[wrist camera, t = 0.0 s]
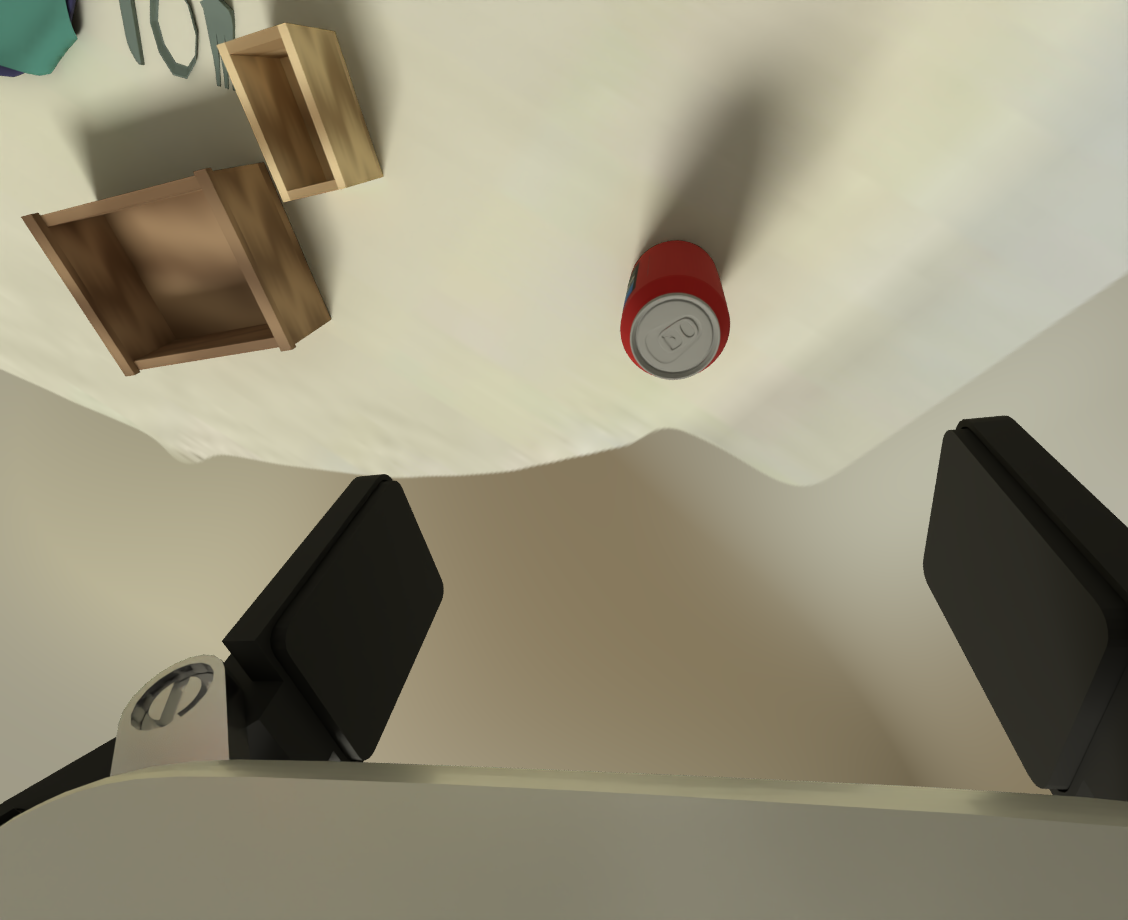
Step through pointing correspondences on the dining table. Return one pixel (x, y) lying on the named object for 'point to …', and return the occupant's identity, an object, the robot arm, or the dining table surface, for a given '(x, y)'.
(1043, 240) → the dining table surface
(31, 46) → the cutlery set
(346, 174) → the oak crate
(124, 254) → the walnut crate
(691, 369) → the beverage can
